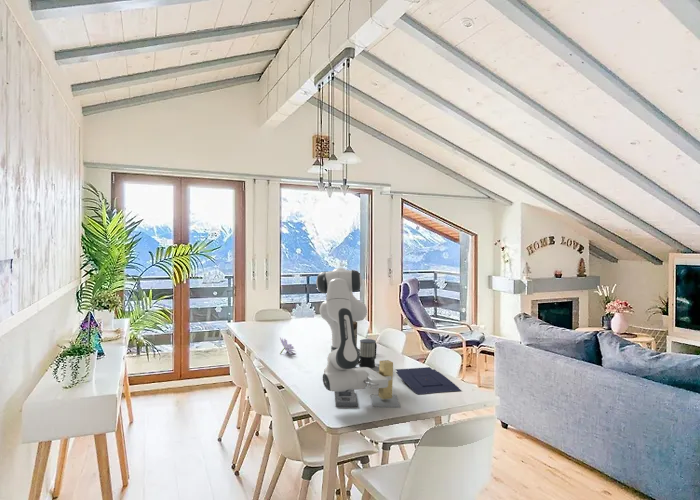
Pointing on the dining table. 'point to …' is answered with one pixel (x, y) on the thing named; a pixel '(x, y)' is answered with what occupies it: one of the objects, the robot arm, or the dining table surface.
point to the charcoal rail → (345, 398)
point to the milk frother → (367, 353)
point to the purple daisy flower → (286, 346)
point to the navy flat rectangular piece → (426, 380)
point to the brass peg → (385, 370)
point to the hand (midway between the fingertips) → (387, 375)
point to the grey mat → (385, 401)
